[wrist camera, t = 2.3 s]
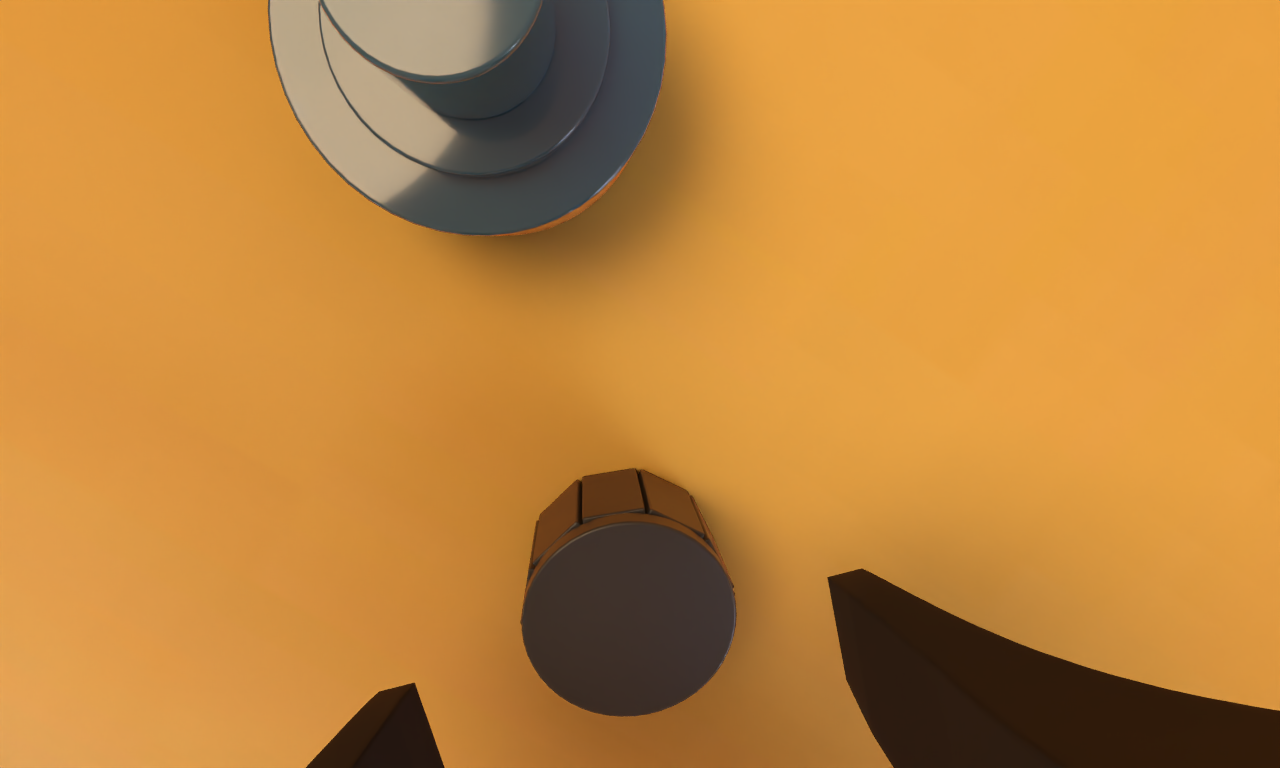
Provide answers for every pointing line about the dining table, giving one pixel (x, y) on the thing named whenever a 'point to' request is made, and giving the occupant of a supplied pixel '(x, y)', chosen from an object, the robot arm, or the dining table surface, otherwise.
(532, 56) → the bottle
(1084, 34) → the dining table surface
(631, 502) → the cap
